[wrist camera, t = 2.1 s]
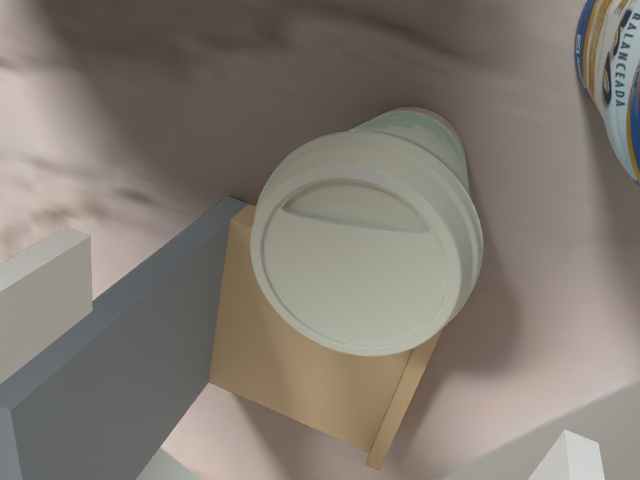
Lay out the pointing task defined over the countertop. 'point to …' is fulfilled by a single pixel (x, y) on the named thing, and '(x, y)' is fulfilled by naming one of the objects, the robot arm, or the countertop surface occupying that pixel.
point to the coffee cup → (370, 234)
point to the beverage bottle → (613, 72)
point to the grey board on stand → (189, 365)
